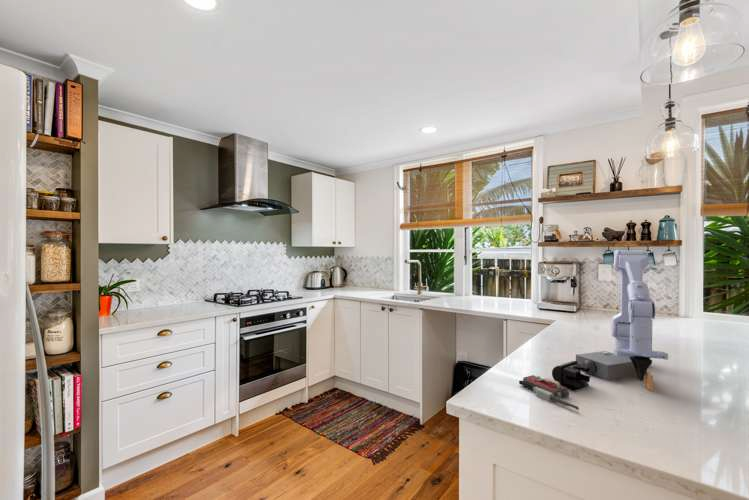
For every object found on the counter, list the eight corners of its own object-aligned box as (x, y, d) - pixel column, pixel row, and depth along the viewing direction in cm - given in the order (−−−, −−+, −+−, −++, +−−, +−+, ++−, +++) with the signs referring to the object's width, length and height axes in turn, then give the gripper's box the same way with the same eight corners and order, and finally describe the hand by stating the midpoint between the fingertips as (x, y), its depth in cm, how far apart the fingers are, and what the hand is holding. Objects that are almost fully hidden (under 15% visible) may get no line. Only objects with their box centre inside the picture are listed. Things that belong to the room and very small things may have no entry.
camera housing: (605, 364, 131) (605, 349, 131) (638, 375, 120) (638, 359, 120) (572, 368, 126) (572, 353, 126) (604, 380, 114) (604, 363, 114)
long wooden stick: (639, 375, 119) (639, 362, 119) (643, 375, 118) (643, 362, 118) (648, 389, 106) (649, 375, 106) (652, 390, 106) (653, 375, 106)
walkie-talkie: (513, 387, 109) (576, 414, 91) (514, 373, 109) (576, 398, 91) (532, 382, 113) (595, 407, 95) (532, 369, 113) (595, 391, 95)
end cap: (567, 378, 117) (568, 358, 116) (590, 385, 111) (590, 364, 111) (551, 384, 111) (551, 363, 111) (574, 392, 105) (574, 370, 105)
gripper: (622, 339, 109) (621, 382, 109) (674, 342, 106) (674, 386, 106) (611, 333, 115) (610, 374, 116) (660, 336, 113) (660, 377, 113)
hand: (640, 379), depth 111 cm, fingers closed
